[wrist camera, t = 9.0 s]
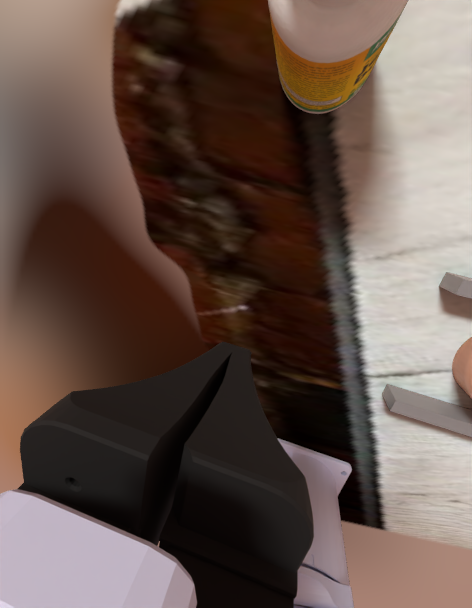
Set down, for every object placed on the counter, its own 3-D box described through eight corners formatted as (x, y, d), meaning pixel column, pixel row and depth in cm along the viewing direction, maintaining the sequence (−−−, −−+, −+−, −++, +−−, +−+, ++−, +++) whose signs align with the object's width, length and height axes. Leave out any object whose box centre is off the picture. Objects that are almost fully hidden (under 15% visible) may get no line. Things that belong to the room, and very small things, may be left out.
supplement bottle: (292, -3, 15) (286, -319, 6) (390, 9, 14) (543, -328, 5) (268, 109, 17) (236, -6, 8) (353, 124, 16) (420, 17, 7)
